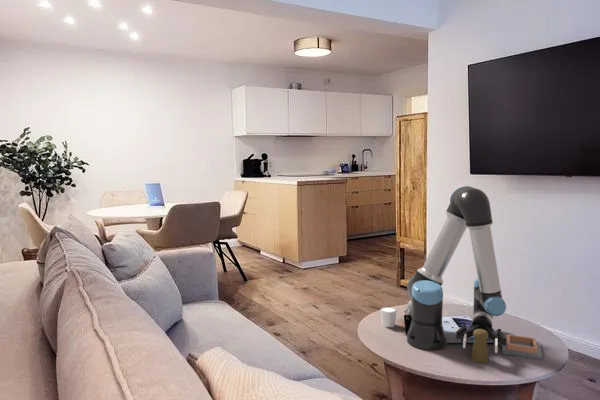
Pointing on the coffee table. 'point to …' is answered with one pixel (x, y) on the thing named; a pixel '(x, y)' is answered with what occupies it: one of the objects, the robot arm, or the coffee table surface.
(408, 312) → the toy rhinoceros
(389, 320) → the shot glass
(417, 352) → the coffee table surface
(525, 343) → the pallet plate
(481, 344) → the cork
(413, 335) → the robot arm
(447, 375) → the coffee table surface
